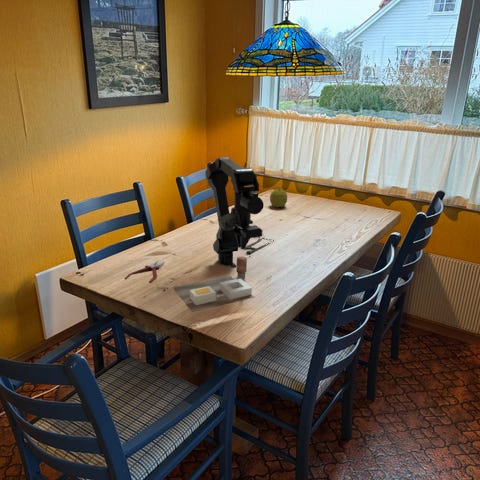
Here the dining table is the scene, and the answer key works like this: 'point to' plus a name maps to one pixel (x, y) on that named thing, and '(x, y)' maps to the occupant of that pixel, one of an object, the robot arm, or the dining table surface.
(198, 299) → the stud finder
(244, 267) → the brown wooden peg
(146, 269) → the pliers
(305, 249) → the dining table surface
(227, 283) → the pilot socket
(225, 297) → the board
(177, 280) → the dining table surface
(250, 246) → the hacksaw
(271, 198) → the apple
